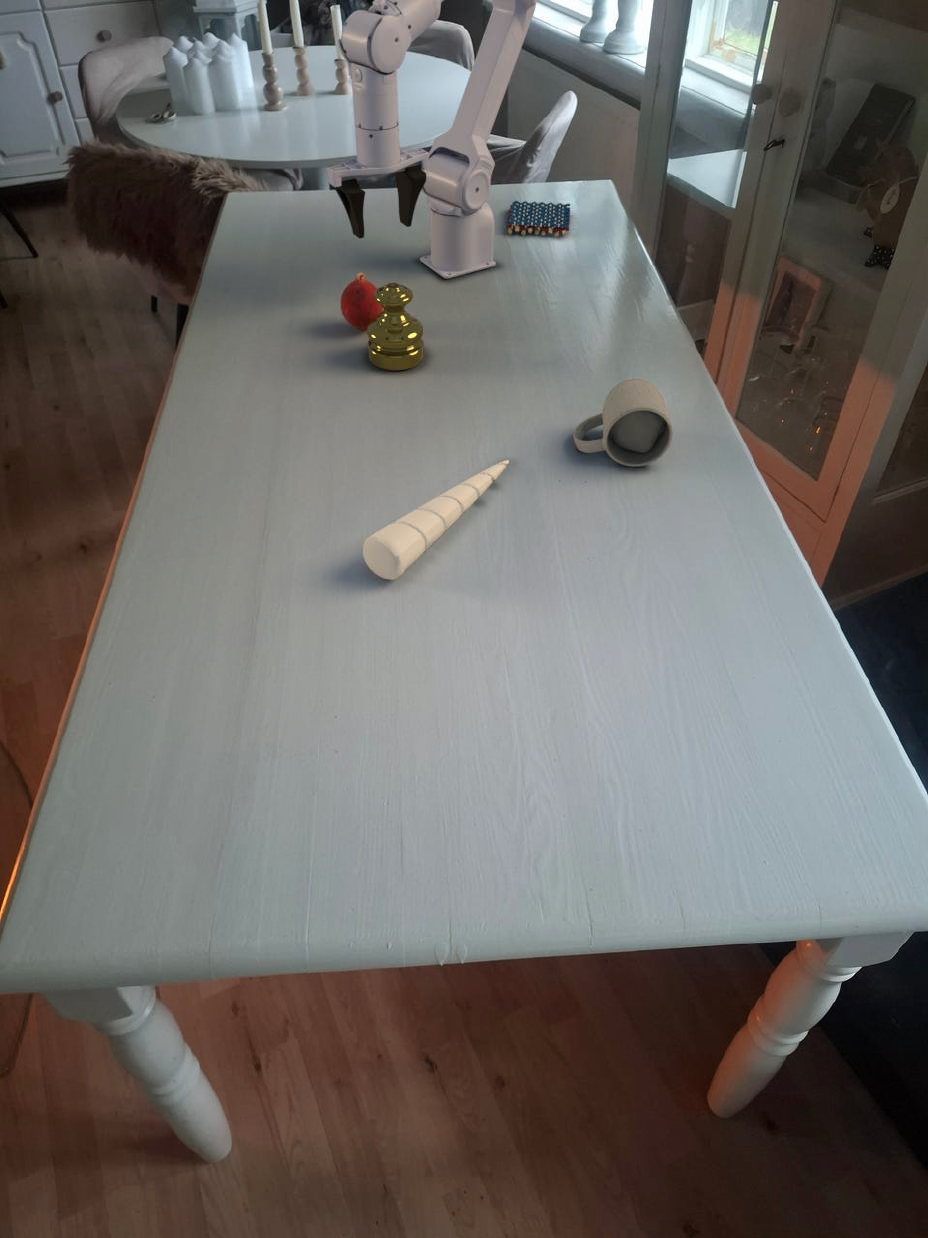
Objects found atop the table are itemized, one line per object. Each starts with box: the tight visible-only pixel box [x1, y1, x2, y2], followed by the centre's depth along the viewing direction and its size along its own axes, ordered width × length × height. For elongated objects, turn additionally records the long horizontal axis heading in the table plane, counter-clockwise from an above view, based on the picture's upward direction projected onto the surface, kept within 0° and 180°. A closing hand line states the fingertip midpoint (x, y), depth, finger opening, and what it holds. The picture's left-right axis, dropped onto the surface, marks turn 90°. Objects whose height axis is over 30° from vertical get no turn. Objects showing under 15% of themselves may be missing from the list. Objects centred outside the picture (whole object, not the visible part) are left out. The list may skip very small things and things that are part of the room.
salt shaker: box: [366, 282, 424, 372], centre depth 112 cm, size 7×7×10 cm
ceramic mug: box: [573, 378, 674, 468], centre depth 100 cm, size 11×8×8 cm
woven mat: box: [506, 200, 571, 238], centre depth 147 cm, size 10×11×2 cm
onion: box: [340, 272, 384, 331], centre depth 118 cm, size 6×6×8 cm
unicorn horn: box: [362, 459, 510, 581], centre depth 91 cm, size 5×24×5 cm, turn 142°
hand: (382, 229), depth 122 cm, fingers open, 7 cm apart
